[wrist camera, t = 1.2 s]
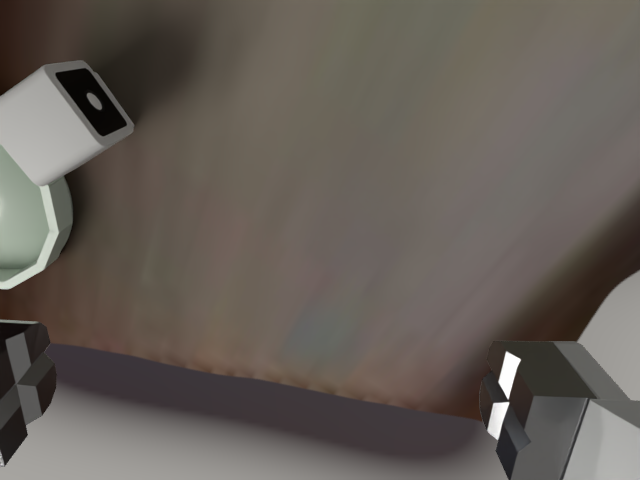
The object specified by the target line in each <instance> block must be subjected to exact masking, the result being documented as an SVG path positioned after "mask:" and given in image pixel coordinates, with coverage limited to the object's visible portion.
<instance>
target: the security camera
mask: <svg viewBox="0 0 640 480" xmlns="http://www.w3.org/2000/svg"><path fill="white" fill-rule="evenodd" d="M133 128H134V124H133V122H132V121H131V119H130V118H129V117H128V115H127V114H126V112H125V111H124V110H123V108H122V107H121V105H120V104H119V103H118V101H117V100H116V98H115V97H114V96H113V94H112V93H111V91H110V90H109V89H108V87H107V86H106V84H105V83H104V82H103V80H102V79H101V77H100V76H99V75H98V73H96V72H93V70H92V69H91V68H90V66H89V65H88V64H87V63H85V62H84V61H81V60H78V61H70V62H62V63H54V64H46V65H44V66H42V67H41V68H39V69H38V70H37V71H35V72H34V73H32V74H31V75H30V76H28V77H27V78H25V79H24V80H23V81H21V82H20V83H18V84H17V85H15V86H14V87H13V88H11V89H10V90H8V91H7V92H6V93H4V94H3V95H1V96H0V144H1V145H2V146H3V147H4V149H5V150H6V151H7V152H8V153H9V155H10V156H11V157H12V158H13V159H14V161H15V162H16V163H17V164H18V165H19V167H20V168H21V169H22V170H23V171H24V173H25V174H26V175H27V176H28V177H29V179H30V180H31V181H32V182H33V183H34V184H36V185H38V186H45V185H47V184H49V183H51V182H53V181H54V180H56V179H58V178H60V177H62V176H64V175H65V174H67V173H69V172H71V171H73V170H75V169H76V168H78V167H80V166H81V165H83V164H84V163H86V162H87V161H89V160H91V159H92V158H94V157H95V156H97V155H98V154H100V153H102V152H103V151H105V150H106V149H108V148H109V147H111V146H113V145H114V144H116V143H117V142H119V141H121V140H122V139H124V138H125V137H127V136H128V135H130V134H132V133H133Z"/></svg>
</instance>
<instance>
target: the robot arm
mask: <svg viewBox="0 0 640 480" xmlns="http://www.w3.org/2000/svg"><path fill="white" fill-rule="evenodd" d="M49 344H50V339H49V335H48V331H47V327H46V326H44V325H43V324H42V323H40V322H30V321H14V320H0V467H4V466H5V465H6V464H7V463H8V461H9V460H10V458H11V457H12V456H13V454H14V453H15V452H16V450H17V449H18V448H19V446H20V445H21V444H22V442H23V441H24V440H25V438H26V437H27V435H28V434H27V428H26V425H27V424H29V423H30V422H32V421H34V420H36V419H37V418H39V417H41V416H42V415H43V414H44V412H45V411H46V409H47V408H48V407H49V405H50V403H51V401H52V398H53V395H54V392H55V389H56V376H57V374H56V368H55V363H54V362H53V361H52V360H51V359H50V358H49V357H48V356H47V355H46V354H45V353H44V352H45V350H46V349H47V347H48V346H49ZM487 361H488V363H489V365H490V367H491V369H492V371H490V372H489V373H488V374H487V375H486V376H485V377H484V378H483V379H482V383H481V388H480V394H479V397H480V412H481V416H482V420H483V423H484V425H485V427H486V430H487V432H489V433H490V434H491V435H493V436H494V437H495V438H497V439H498V443H497V447H496V453H497V455H498V457H499V459H500V462H501V464H502V466H503V469H504V471H505V473H506V475H507V478H508V479H509V480H640V401H632V400H630V399H629V398H628V397H627V395H626V394H625V393H624V392H623V391H622V390H621V389H620V388H619V386H618V385H617V384H616V383H615V382H614V381H613V380H612V378H611V377H610V376H609V375H608V374H607V373H606V372H605V370H604V369H603V368H602V367H601V366H600V365H599V364H598V363H597V361H596V360H595V359H594V358H593V357H592V356H591V355H590V353H589V352H588V351H587V350H586V349H585V348H584V347H583V346H582V345H581V344H579V343H577V342H575V341H548V342H534V341H493V342H492V344H491V346H490V347H489V351H488V355H487Z"/></svg>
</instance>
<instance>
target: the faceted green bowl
mask: <svg viewBox="0 0 640 480" xmlns="http://www.w3.org/2000/svg"><path fill="white" fill-rule="evenodd" d="M72 224H73V204H72V197H71V194H70V190H69V187H68V184H67V182H66V179H65V177H64V176H62V177H60V178H58V179H56V180H54V181H53V182H51V183H49V184H47V185H45V186H38V185H36V184H34V183H33V182H32V181H31V180H30V179H29V177H28V176H27V175H26V174H25V173H24V171H23V170H22V169H21V168H20V167H19V165H18V164H17V163H16V162H15V161H14V159H13V158H12V157H11V156H10V155H9V153H8V152H7V151H6V150H5V149H4V147H3V146H2V145H1V144H0V289H10V288H12V287H14V286H16V285H17V284H19V283H21V282H23V281H25V280H26V279H28V278H30V277H32V276H33V275H35V274H37V273H39V272H41V271H42V270H44V269H45V268H46V267H48V266H49V265H50V264H51V263H52V262H54V261H55V260H56V259H57V258H58V257H59V255H60V252H61V250H62V248H63V247H64V246H65V244H66V242H67V240H68V238H69V235H70V232H71V229H72Z"/></svg>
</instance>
